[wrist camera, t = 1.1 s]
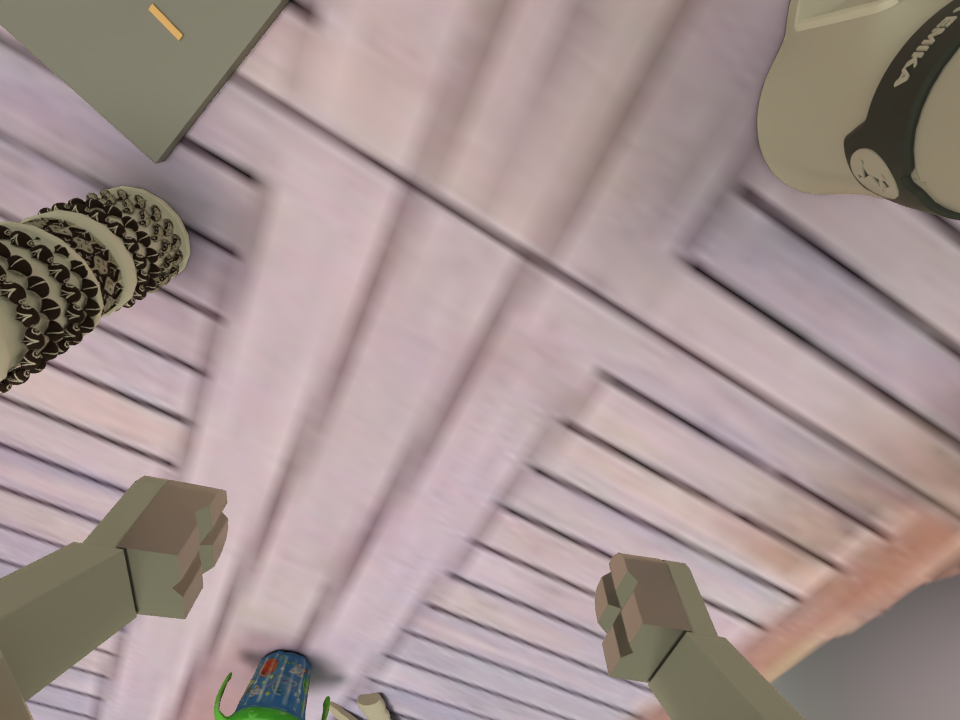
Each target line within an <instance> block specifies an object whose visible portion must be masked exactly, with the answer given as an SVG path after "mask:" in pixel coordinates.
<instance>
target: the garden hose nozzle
mask: <svg viewBox="0 0 960 720" xmlns="http://www.w3.org/2000/svg"><path fill="white" fill-rule="evenodd" d="M357 703H358V706H359V708H360V709H361V711H362V712H363V713H364V714H365V715H366V717H367V718H368V720H392V719H391V718H390V713H389V711H388V710H387V709H386V705H385V702H384V700H383V699H382V697H381V696H380V694H379V693H371V694H364V695H361V696H359V698H358V699H357ZM329 709H330V711H331V712H332V714H333V715H334V716H335V717H336V718H337V719H339V720H358V719H357V718H355V717H354V716H353V715H351V714H350V713H349V712H347V711H346V710H344V709H343V708H342V707H341V706H340V705H338V704H336V703H334V702H330V707H329Z"/></svg>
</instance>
